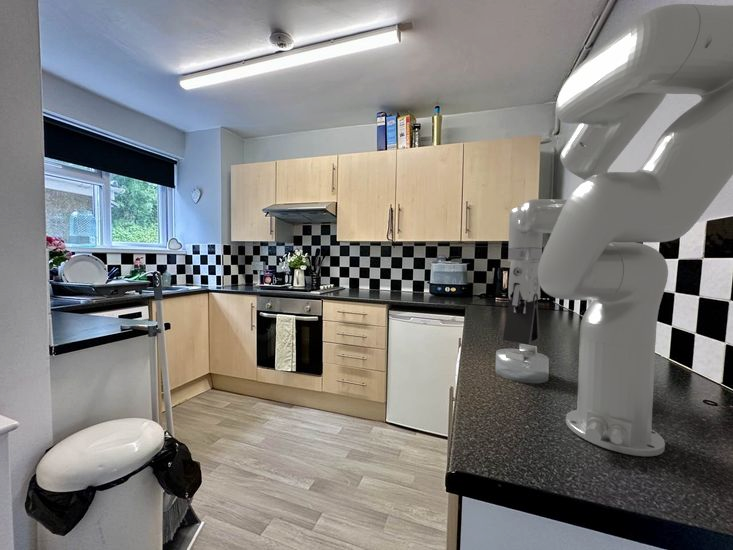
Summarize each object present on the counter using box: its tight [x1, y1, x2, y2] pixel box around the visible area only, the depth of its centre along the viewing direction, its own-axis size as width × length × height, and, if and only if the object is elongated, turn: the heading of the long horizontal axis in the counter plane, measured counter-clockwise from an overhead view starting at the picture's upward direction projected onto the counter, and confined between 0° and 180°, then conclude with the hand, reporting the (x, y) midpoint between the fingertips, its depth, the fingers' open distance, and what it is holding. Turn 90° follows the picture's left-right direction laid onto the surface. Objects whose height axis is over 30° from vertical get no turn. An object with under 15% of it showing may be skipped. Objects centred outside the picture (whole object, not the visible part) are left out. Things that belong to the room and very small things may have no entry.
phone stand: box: [502, 294, 541, 345], centre depth 77 cm, size 9×6×12 cm, turn 135°
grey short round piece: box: [495, 343, 550, 384], centre depth 78 cm, size 12×12×7 cm
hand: (522, 328), depth 78 cm, fingers closed on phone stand, 1 cm apart
